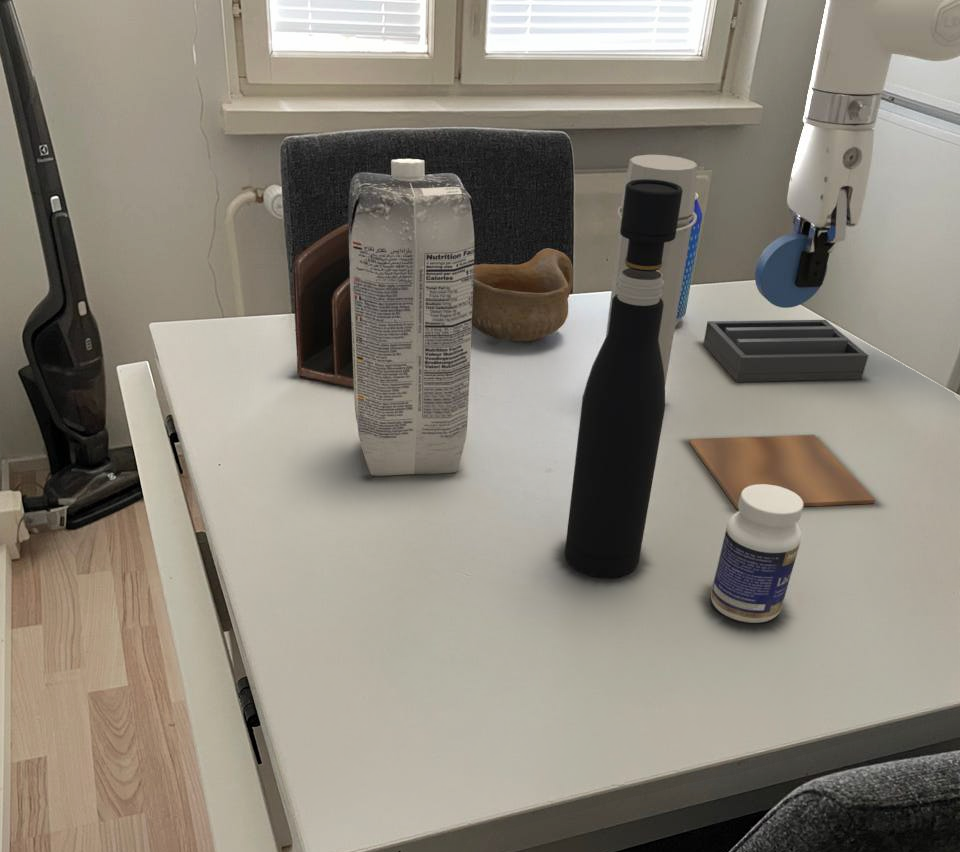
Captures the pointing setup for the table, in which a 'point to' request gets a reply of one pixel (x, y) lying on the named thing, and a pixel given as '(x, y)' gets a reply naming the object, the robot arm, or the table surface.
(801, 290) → the blue lid
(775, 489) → the pill bottle
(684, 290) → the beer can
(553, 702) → the table surface
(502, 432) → the table surface
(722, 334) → the dish rack
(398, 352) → the juice carton
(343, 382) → the letter holder
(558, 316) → the bowl
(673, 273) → the water bottle
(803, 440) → the brown square board
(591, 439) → the wine bottle
